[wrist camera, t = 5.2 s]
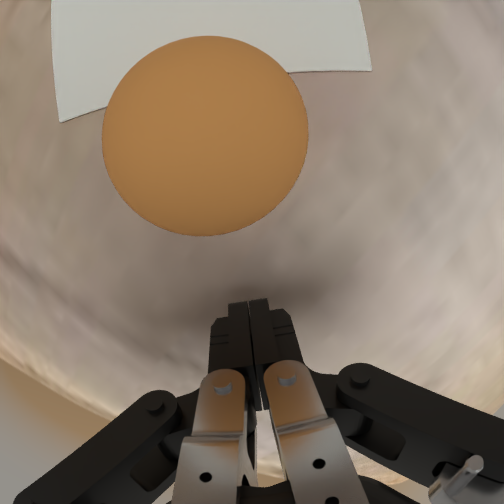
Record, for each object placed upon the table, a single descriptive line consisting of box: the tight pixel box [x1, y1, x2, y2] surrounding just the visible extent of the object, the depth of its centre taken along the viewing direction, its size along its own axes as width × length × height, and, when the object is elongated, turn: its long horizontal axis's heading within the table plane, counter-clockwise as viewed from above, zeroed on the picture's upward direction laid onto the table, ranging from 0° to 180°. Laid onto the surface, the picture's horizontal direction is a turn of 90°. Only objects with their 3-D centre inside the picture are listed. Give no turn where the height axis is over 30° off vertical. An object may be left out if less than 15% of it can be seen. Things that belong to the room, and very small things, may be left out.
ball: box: [102, 36, 308, 236], centre depth 8 cm, size 6×6×6 cm
